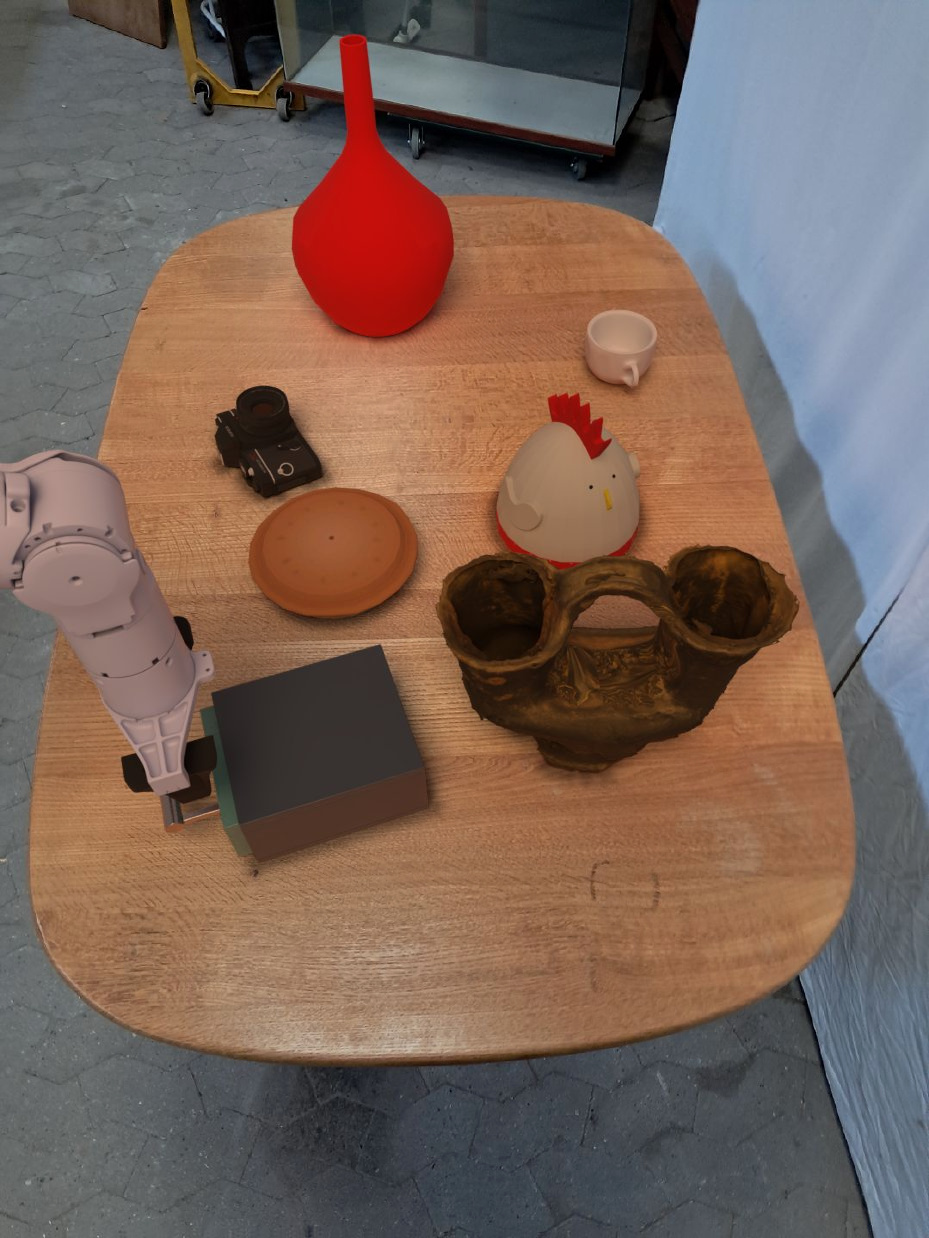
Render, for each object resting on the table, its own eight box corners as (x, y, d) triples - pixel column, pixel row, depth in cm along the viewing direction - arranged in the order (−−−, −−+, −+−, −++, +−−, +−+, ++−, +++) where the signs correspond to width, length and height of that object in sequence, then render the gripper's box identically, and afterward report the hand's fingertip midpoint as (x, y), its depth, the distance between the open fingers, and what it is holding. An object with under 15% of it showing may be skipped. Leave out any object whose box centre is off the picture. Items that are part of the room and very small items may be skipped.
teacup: (574, 354, 105) (578, 314, 100) (638, 346, 106) (644, 305, 101) (598, 411, 99) (603, 371, 95) (665, 401, 100) (674, 361, 95)
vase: (315, 268, 116) (273, 1, 92) (458, 270, 115) (453, 2, 91) (293, 359, 105) (238, 83, 81) (451, 361, 104) (443, 85, 80)
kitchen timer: (548, 595, 84) (560, 479, 72) (469, 504, 91) (468, 384, 79) (666, 535, 88) (695, 415, 76) (582, 452, 95) (597, 330, 83)
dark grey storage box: (258, 864, 69) (238, 825, 63) (230, 737, 75) (210, 692, 70) (428, 809, 71) (424, 767, 66) (387, 690, 78) (380, 643, 72)
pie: (232, 548, 88) (220, 512, 84) (378, 492, 92) (373, 456, 88) (291, 665, 80) (281, 632, 76) (448, 598, 84) (446, 563, 80)
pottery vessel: (726, 661, 79) (789, 504, 63) (754, 774, 73) (831, 630, 57) (441, 671, 79) (431, 515, 63) (443, 784, 73) (433, 643, 57)
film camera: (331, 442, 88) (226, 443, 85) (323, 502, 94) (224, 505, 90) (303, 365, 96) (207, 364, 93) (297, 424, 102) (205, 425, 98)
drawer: (181, 875, 68) (161, 848, 63) (162, 758, 73) (142, 725, 69) (398, 806, 71) (392, 775, 66) (362, 698, 76) (356, 663, 72)
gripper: (215, 719, 50) (263, 821, 61) (176, 533, 58) (224, 653, 69) (84, 757, 49) (157, 854, 59) (63, 561, 57) (131, 679, 68)
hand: (186, 748), depth 64 cm, fingers open, 7 cm apart
